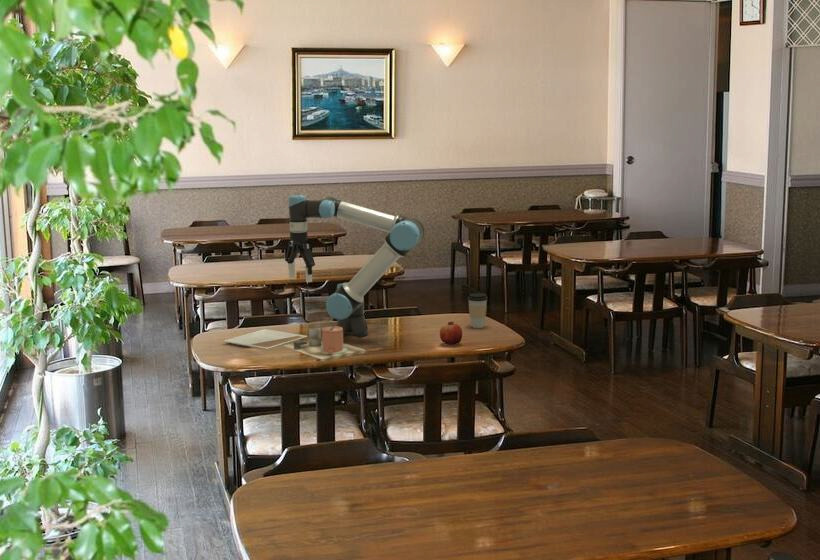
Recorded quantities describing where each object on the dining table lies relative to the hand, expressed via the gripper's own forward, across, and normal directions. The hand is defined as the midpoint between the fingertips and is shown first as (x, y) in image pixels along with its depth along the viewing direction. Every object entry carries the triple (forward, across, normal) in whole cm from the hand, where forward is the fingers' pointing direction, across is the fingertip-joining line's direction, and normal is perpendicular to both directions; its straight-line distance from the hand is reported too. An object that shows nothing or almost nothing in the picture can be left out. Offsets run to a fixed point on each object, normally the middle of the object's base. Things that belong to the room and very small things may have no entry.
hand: (300, 280), depth 426 cm
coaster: (+25, +30, -4) cm, 40 cm away
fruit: (+27, +51, +42) cm, 71 cm away
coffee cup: (+27, +34, +73) cm, 85 cm away
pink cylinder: (+25, +30, -4) cm, 39 cm away
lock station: (+27, +22, -4) cm, 35 cm away
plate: (+27, -8, -14) cm, 32 cm away
